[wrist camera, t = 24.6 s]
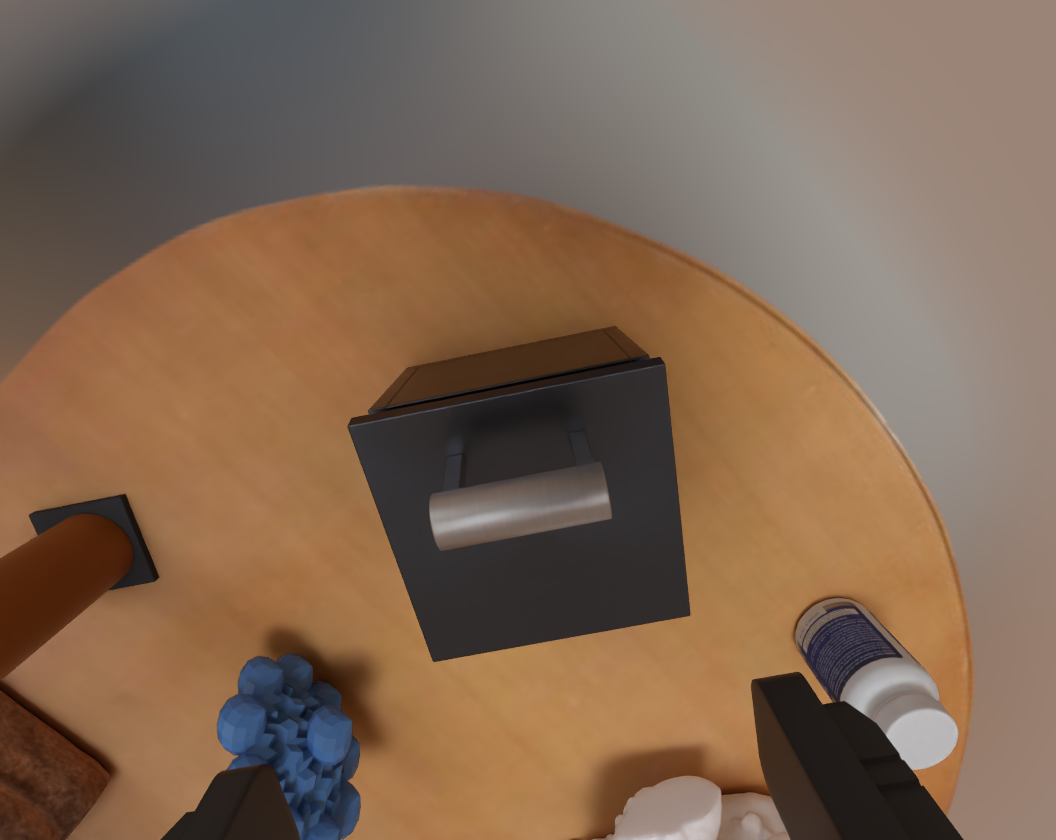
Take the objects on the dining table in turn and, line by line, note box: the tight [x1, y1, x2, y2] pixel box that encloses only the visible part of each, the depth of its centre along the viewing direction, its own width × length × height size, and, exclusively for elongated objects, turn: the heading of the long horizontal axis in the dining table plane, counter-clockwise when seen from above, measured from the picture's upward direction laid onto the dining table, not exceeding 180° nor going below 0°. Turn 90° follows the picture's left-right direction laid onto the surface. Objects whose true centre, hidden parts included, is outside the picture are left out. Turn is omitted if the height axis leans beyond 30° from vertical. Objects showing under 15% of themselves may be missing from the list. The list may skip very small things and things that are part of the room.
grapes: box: [217, 653, 361, 840], centre depth 37 cm, size 12×7×12 cm, turn 33°
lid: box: [348, 357, 690, 662], centre depth 25 cm, size 13×13×6 cm
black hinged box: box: [368, 326, 650, 414], centre depth 34 cm, size 13×13×10 cm
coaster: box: [29, 495, 159, 590], centre depth 39 cm, size 6×6×1 cm
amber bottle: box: [0, 513, 134, 681], centre depth 32 cm, size 5×5×14 cm
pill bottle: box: [795, 598, 958, 770], centre depth 37 cm, size 5×5×10 cm
